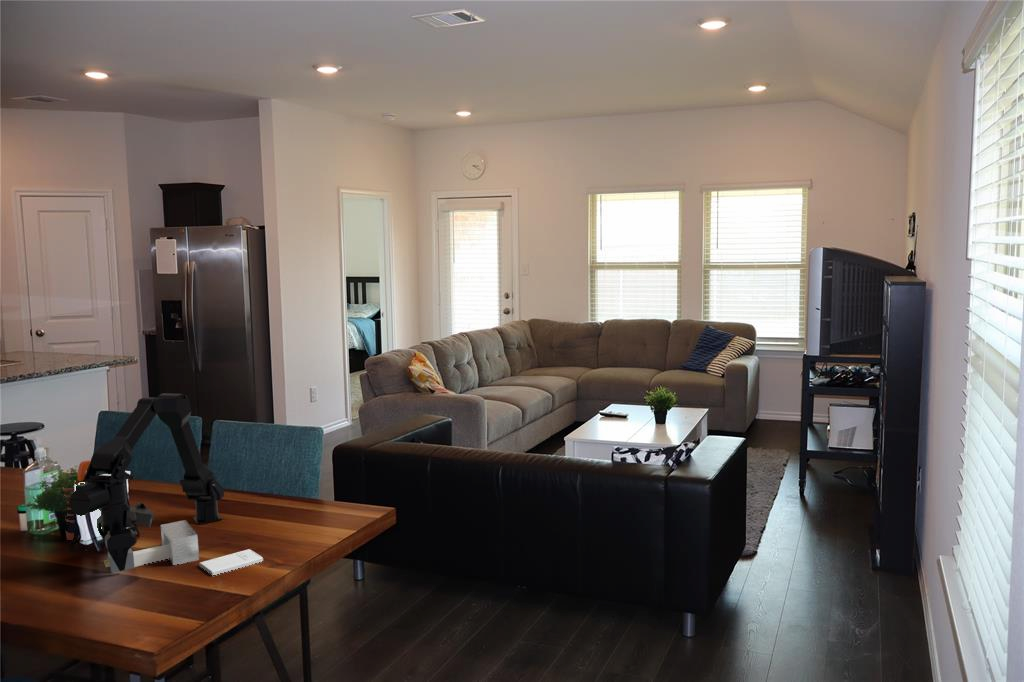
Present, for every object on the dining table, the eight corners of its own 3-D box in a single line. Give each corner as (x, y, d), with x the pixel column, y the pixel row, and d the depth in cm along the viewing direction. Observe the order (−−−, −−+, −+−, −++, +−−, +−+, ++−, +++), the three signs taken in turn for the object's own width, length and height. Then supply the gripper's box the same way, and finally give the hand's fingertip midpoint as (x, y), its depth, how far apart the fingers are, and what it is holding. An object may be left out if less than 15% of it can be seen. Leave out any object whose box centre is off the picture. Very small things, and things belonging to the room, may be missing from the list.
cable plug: (189, 550, 205) (188, 535, 205) (193, 554, 202) (191, 539, 201) (104, 568, 195) (103, 553, 194) (106, 574, 191) (105, 558, 191)
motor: (57, 538, 216) (50, 465, 214) (88, 527, 224) (81, 457, 222) (81, 543, 212) (74, 469, 209) (112, 532, 219) (105, 460, 217)
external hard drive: (199, 568, 195) (249, 554, 203) (212, 578, 188) (263, 563, 197) (199, 562, 194) (248, 548, 202) (212, 571, 188) (262, 556, 196)
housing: (162, 549, 206) (160, 525, 205) (187, 544, 209) (185, 520, 208) (173, 565, 195) (171, 539, 194) (199, 559, 199) (197, 534, 198)
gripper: (157, 504, 189) (162, 568, 191) (142, 485, 205) (147, 545, 207) (104, 514, 183) (110, 580, 185) (93, 494, 198) (99, 555, 200)
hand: (118, 564), depth 194 cm, fingers open, 9 cm apart
